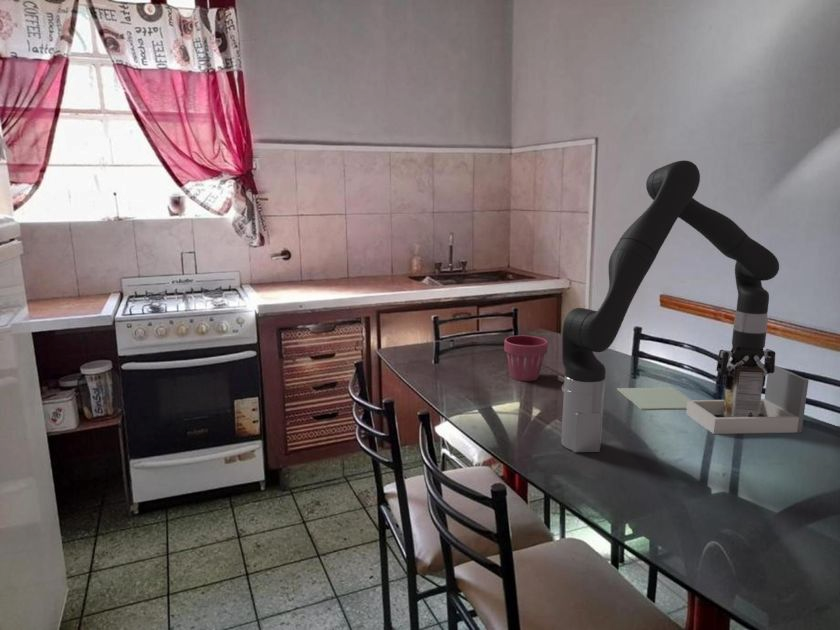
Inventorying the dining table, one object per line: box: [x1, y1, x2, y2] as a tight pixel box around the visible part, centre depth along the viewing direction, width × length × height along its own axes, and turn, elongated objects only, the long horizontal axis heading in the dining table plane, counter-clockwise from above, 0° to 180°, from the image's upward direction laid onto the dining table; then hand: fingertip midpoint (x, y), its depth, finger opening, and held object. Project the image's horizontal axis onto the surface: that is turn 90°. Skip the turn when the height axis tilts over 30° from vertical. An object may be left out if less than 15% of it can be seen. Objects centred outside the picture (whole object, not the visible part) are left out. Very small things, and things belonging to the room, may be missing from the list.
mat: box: [616, 386, 692, 411], centre depth 176 cm, size 18×18×1 cm
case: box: [685, 365, 810, 435], centre depth 156 cm, size 14×23×14 cm, turn 93°
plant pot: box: [503, 334, 549, 382], centre depth 195 cm, size 14×14×13 cm
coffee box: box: [722, 363, 764, 417], centre depth 156 cm, size 9×6×16 cm
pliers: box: [557, 375, 565, 393], centre depth 188 cm, size 10×2×15 cm
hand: (743, 388), depth 156 cm, fingers open, 8 cm apart
